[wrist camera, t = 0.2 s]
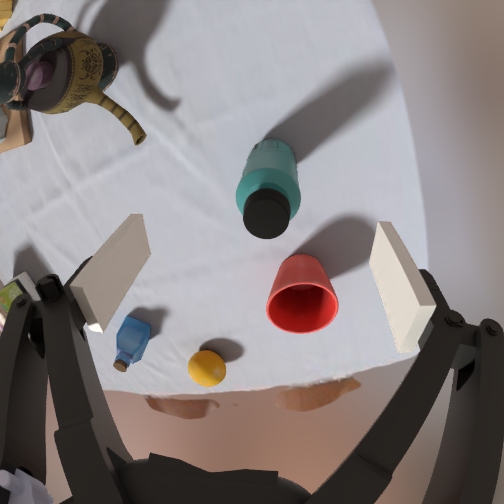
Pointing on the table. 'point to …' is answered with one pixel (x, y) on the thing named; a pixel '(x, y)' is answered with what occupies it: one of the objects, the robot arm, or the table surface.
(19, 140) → the gear board
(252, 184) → the beverage bottle
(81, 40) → the teapot
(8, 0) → the ochre gear
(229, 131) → the table surface
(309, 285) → the flower pot
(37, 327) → the robot arm
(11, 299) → the tea box
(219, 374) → the fruit
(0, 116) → the pale grey gear
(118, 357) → the perfume bottle
